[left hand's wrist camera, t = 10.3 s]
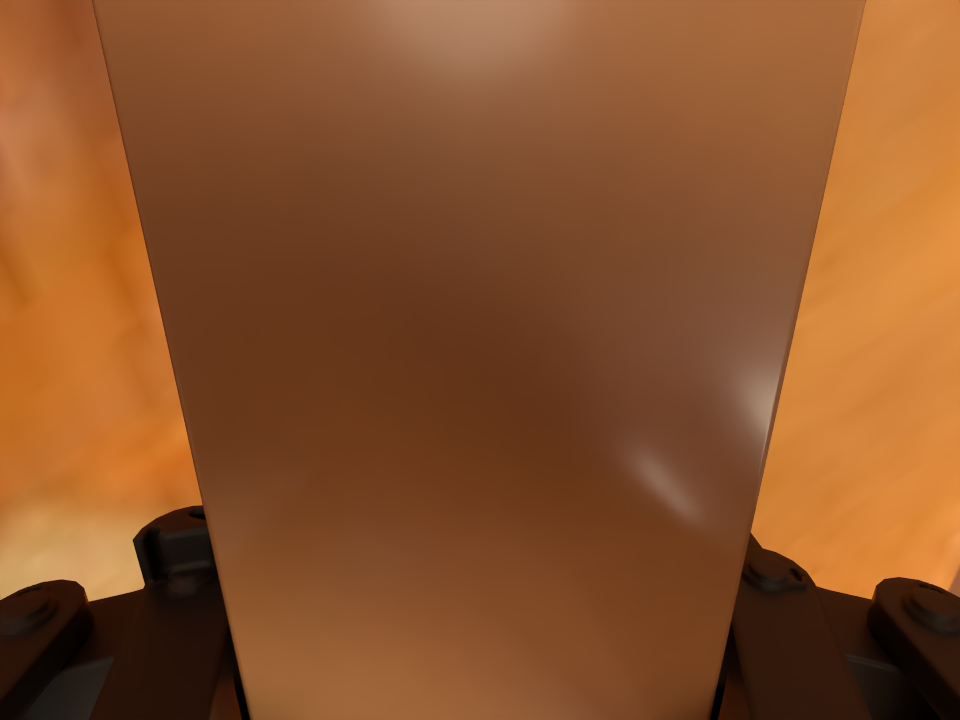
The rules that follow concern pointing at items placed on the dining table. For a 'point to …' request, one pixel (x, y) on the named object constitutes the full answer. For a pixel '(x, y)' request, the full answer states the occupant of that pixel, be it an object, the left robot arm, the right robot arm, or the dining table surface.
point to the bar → (479, 329)
